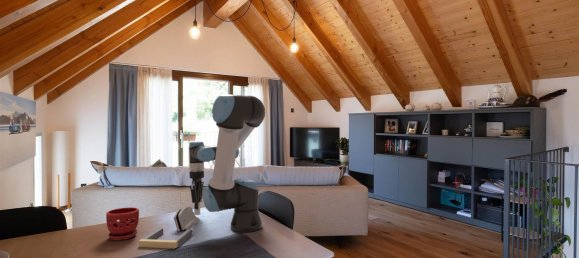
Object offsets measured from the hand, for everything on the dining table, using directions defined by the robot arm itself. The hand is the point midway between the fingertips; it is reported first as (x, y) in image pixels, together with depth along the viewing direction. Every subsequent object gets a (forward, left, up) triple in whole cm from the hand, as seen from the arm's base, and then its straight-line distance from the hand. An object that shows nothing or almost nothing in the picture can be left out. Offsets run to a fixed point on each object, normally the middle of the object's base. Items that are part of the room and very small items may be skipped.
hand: (197, 214), depth 171 cm
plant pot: (+22, +30, -2) cm, 37 cm away
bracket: (0, +32, -2) cm, 32 cm away
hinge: (0, +13, -2) cm, 13 cm away
